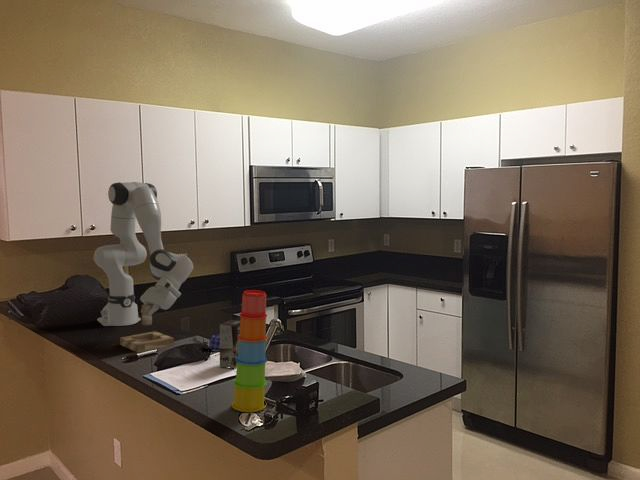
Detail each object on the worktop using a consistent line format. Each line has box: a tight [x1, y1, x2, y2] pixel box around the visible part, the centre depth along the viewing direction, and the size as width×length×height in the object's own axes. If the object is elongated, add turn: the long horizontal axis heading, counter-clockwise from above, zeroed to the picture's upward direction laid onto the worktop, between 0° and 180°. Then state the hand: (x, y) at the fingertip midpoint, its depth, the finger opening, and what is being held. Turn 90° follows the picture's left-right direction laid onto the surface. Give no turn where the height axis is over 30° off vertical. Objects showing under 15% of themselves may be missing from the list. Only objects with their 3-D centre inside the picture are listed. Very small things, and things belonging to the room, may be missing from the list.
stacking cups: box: [231, 289, 268, 413], centre depth 158 cm, size 10×10×35 cm
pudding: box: [207, 334, 220, 352], centre depth 221 cm, size 12×12×5 cm
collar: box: [119, 330, 175, 354], centre depth 225 cm, size 16×16×3 cm
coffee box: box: [219, 319, 241, 369], centre depth 198 cm, size 9×6×16 cm
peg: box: [141, 304, 153, 326], centre depth 224 cm, size 4×4×8 cm
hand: (145, 313), depth 223 cm, fingers closed on peg, 4 cm apart
